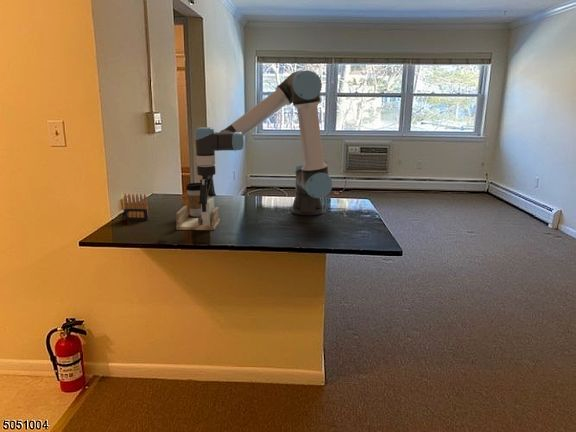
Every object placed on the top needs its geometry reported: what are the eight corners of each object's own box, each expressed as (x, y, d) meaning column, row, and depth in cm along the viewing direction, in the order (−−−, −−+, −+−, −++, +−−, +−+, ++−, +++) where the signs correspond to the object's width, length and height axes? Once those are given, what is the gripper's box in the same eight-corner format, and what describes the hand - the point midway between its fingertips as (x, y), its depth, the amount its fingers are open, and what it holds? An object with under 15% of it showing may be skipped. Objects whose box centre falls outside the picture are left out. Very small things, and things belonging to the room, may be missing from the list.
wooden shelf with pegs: (220, 220, 197) (219, 205, 195) (214, 230, 184) (213, 213, 182) (184, 220, 198) (184, 205, 196) (176, 229, 184) (175, 213, 182)
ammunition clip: (149, 219, 200) (147, 193, 197) (148, 220, 198) (146, 194, 195) (126, 218, 200) (123, 192, 197) (124, 219, 198) (122, 193, 195)
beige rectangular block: (214, 219, 195) (213, 197, 192) (209, 225, 185) (208, 202, 183) (207, 219, 195) (206, 197, 192) (202, 225, 185) (201, 202, 183)
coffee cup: (201, 217, 202) (200, 185, 198) (184, 216, 204) (182, 184, 200) (208, 213, 210) (207, 182, 206) (191, 212, 212) (190, 181, 208)
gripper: (203, 161, 196) (205, 207, 201) (189, 170, 172) (192, 222, 177) (220, 161, 196) (222, 207, 201) (208, 170, 172) (211, 222, 177)
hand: (208, 214), depth 189 cm, fingers open, 13 cm apart
